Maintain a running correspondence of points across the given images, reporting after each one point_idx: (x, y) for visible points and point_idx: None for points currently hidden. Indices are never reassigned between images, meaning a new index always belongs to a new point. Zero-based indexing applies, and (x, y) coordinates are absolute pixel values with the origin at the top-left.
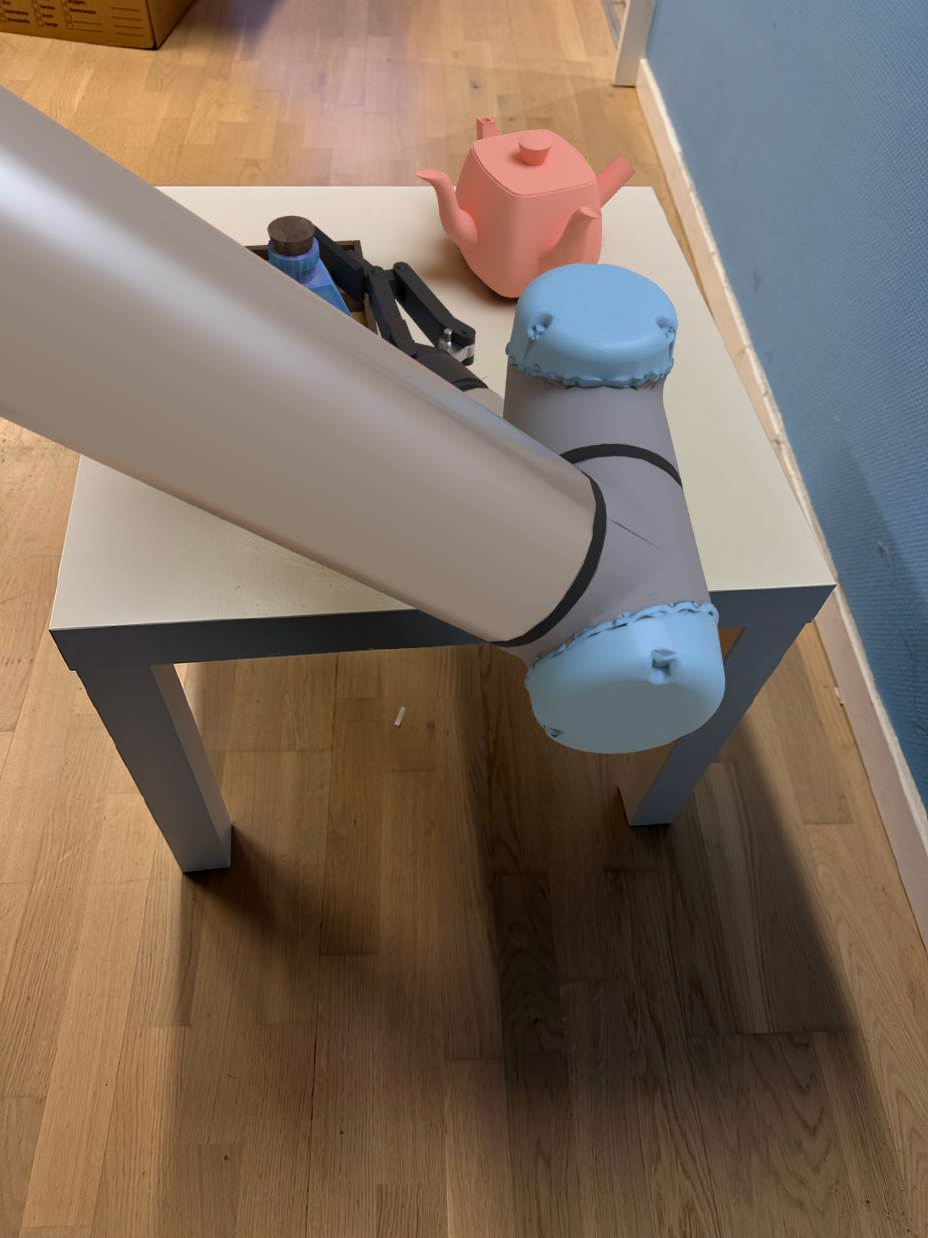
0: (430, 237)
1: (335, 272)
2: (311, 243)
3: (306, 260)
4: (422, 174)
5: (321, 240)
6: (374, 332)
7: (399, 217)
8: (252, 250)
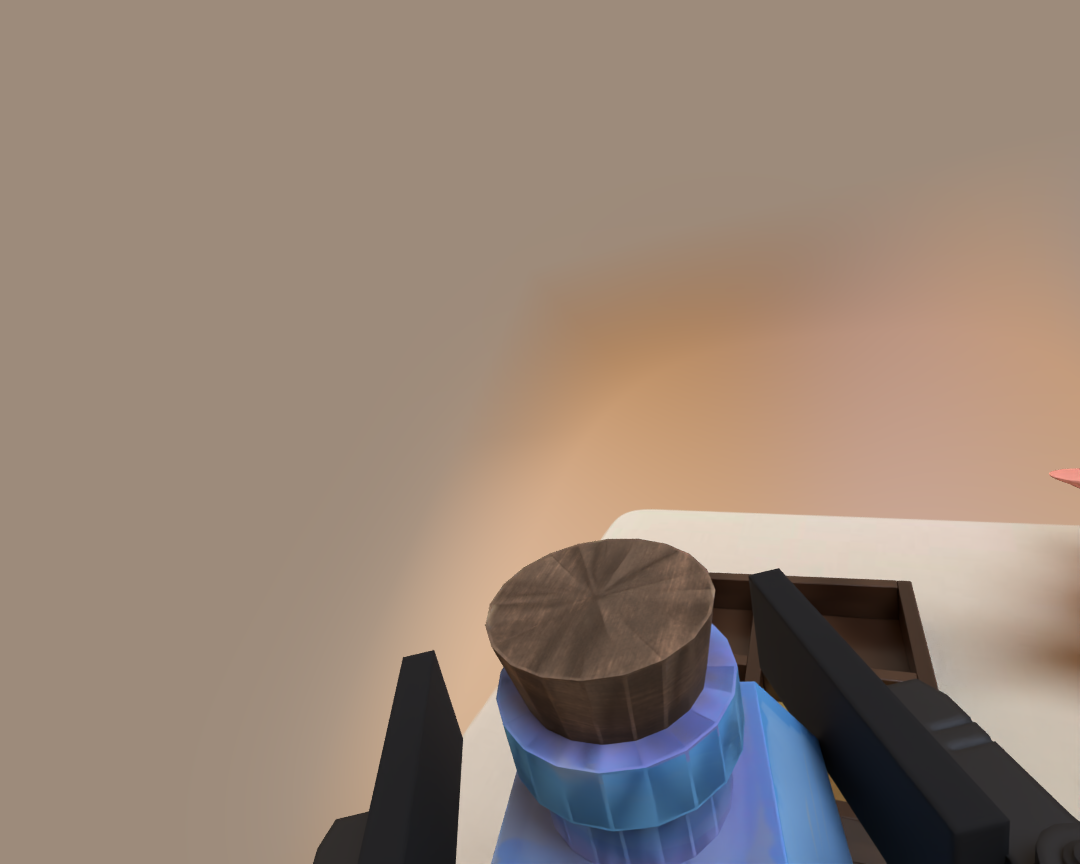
0: (1052, 586)
1: (843, 760)
2: (687, 688)
3: (642, 783)
4: (1067, 477)
5: (793, 628)
6: None
7: (980, 550)
8: (725, 580)
